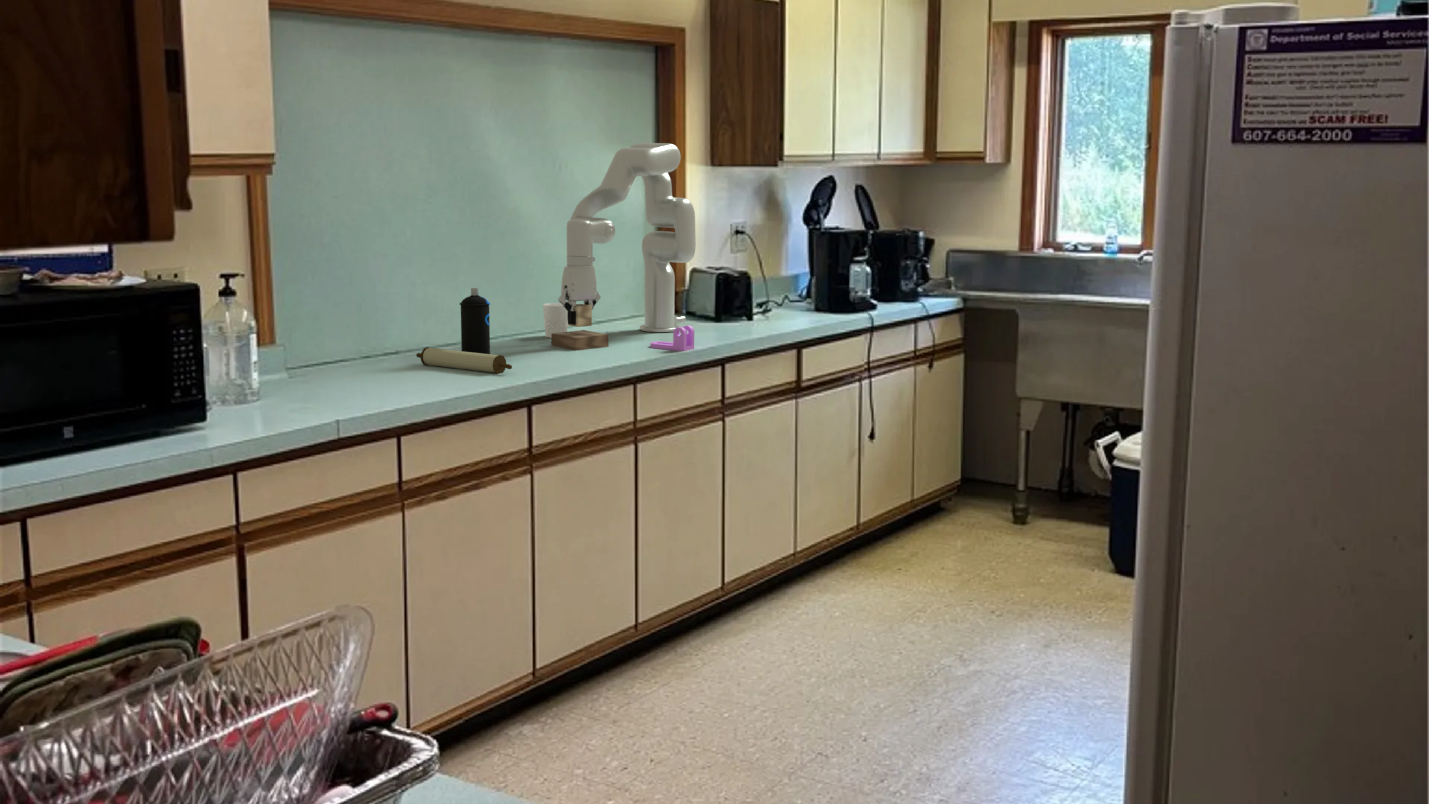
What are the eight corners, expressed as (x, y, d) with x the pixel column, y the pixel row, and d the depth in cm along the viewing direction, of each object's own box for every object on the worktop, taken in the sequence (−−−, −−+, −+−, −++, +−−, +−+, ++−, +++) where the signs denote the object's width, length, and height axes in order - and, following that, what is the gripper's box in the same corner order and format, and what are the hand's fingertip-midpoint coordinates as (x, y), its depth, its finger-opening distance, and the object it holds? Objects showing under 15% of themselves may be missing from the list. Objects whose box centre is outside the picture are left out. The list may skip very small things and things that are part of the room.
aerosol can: (465, 363, 371) (464, 290, 367) (456, 359, 378) (455, 286, 375) (495, 361, 375) (494, 288, 371) (485, 357, 382) (484, 285, 378)
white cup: (571, 335, 428) (571, 303, 426) (566, 338, 420) (566, 306, 418) (546, 334, 428) (546, 302, 427) (540, 338, 421) (540, 305, 419)
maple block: (581, 323, 408) (581, 303, 407) (591, 325, 404) (591, 305, 403) (567, 325, 405) (567, 304, 404) (578, 326, 401) (578, 306, 400)
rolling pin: (410, 365, 368) (409, 347, 367) (424, 362, 373) (423, 344, 372) (505, 377, 353) (504, 357, 352) (518, 374, 357) (518, 355, 357)
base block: (583, 343, 414) (583, 330, 413) (608, 347, 406) (608, 334, 405) (551, 346, 406) (551, 333, 405) (575, 351, 398) (575, 338, 397)
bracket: (694, 349, 404) (694, 325, 402) (683, 351, 399) (684, 327, 398) (657, 345, 410) (657, 322, 409) (646, 347, 406) (646, 324, 404)
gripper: (594, 259, 410) (594, 320, 413) (548, 262, 398) (548, 324, 402) (610, 261, 404) (610, 322, 407) (563, 264, 393) (563, 327, 396)
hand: (579, 323), depth 404 cm, fingers closed on maple block, 5 cm apart
